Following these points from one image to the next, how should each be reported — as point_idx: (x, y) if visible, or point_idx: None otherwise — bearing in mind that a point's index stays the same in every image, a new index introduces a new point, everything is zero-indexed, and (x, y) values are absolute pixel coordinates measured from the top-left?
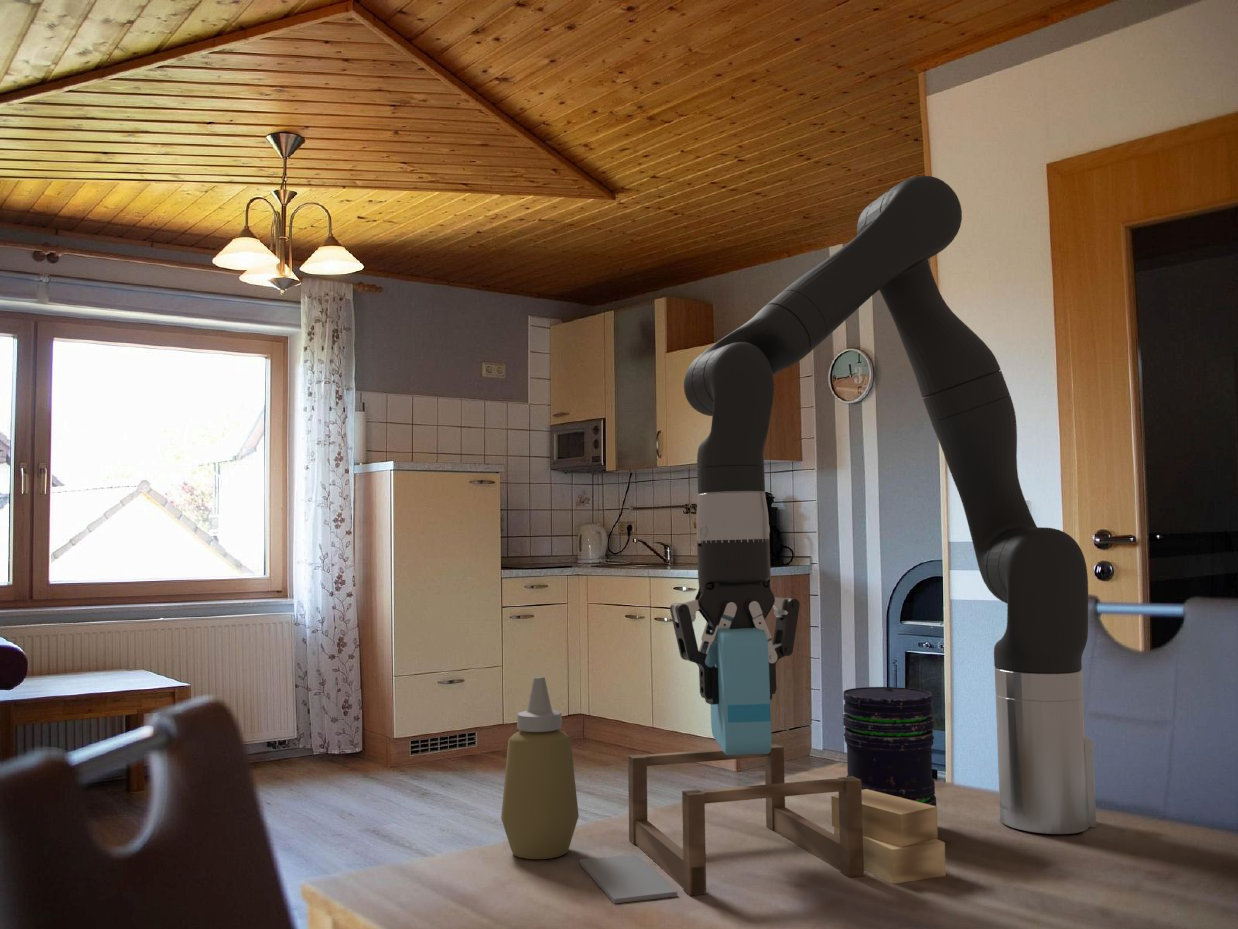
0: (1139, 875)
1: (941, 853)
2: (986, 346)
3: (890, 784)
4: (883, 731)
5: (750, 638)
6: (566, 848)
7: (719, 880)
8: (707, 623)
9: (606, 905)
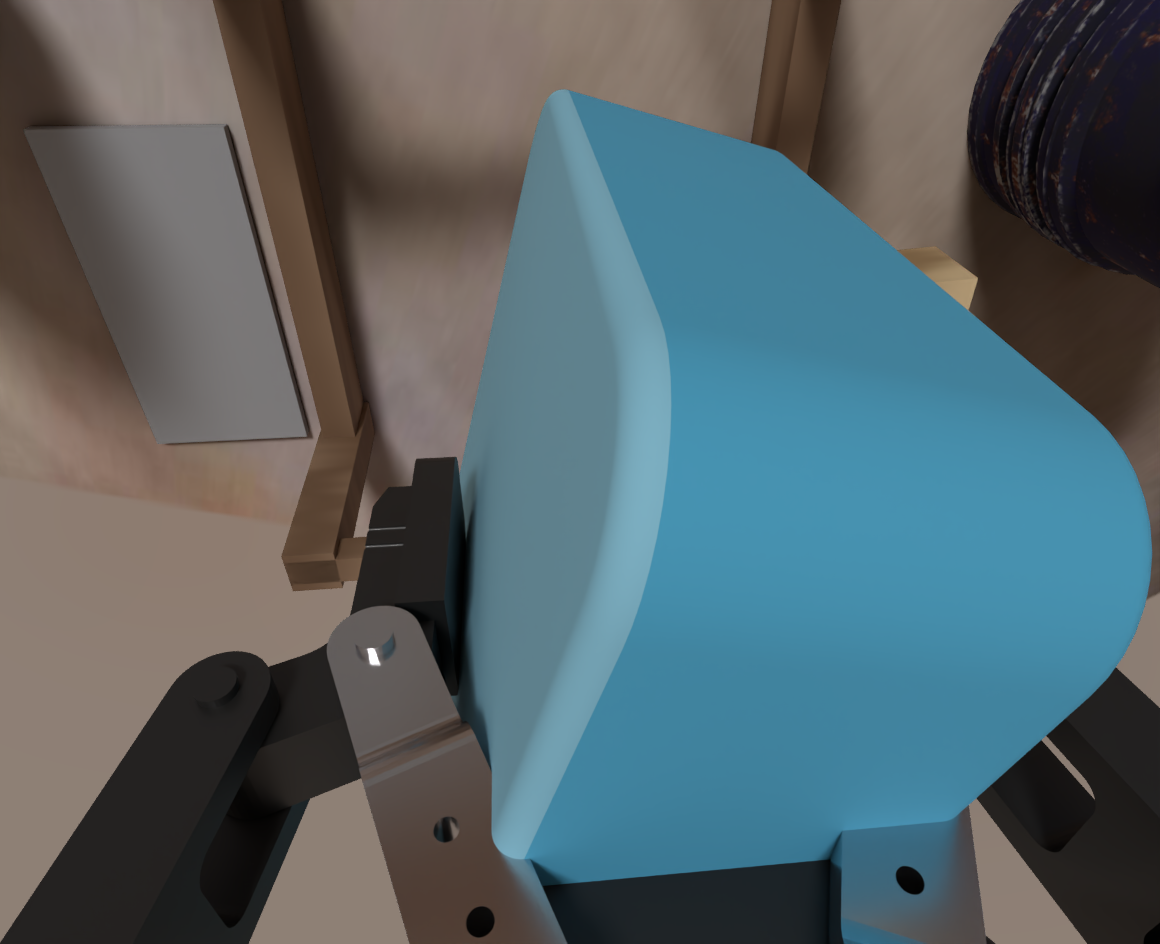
0: (1156, 517)
1: None
2: None
3: (1106, 256)
4: None
5: None
6: None
7: (428, 362)
8: (409, 941)
9: (143, 440)
